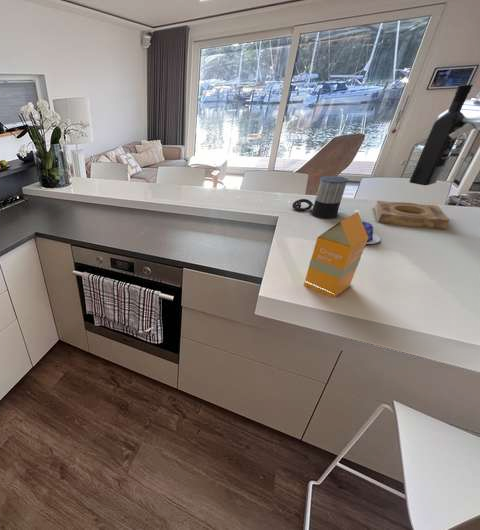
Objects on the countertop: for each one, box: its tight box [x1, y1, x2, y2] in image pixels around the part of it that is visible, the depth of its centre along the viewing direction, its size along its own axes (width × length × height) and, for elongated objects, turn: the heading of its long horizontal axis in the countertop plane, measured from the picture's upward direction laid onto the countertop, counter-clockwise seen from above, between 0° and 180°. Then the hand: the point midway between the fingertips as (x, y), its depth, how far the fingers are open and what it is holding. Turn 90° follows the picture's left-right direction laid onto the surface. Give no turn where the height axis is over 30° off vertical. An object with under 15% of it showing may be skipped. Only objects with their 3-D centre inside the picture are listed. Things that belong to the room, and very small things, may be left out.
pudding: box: [362, 221, 381, 245], centre depth 98 cm, size 12×12×5 cm
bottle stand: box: [374, 200, 450, 230], centre depth 109 cm, size 18×17×4 cm
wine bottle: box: [409, 84, 473, 186], centre depth 95 cm, size 6×6×30 cm
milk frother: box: [292, 175, 349, 219], centre depth 118 cm, size 14×16×15 cm
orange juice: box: [303, 212, 368, 299], centre depth 73 cm, size 8×9×20 cm
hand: (441, 135), depth 95 cm, fingers closed on wine bottle, 7 cm apart
